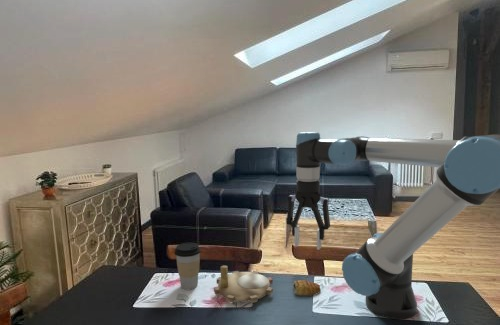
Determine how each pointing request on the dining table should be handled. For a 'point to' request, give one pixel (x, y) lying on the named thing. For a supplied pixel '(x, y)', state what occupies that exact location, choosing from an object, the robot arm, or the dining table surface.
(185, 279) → the coffee cup
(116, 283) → the dining table surface
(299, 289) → the pastry
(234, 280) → the turntable
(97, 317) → the dining table surface
